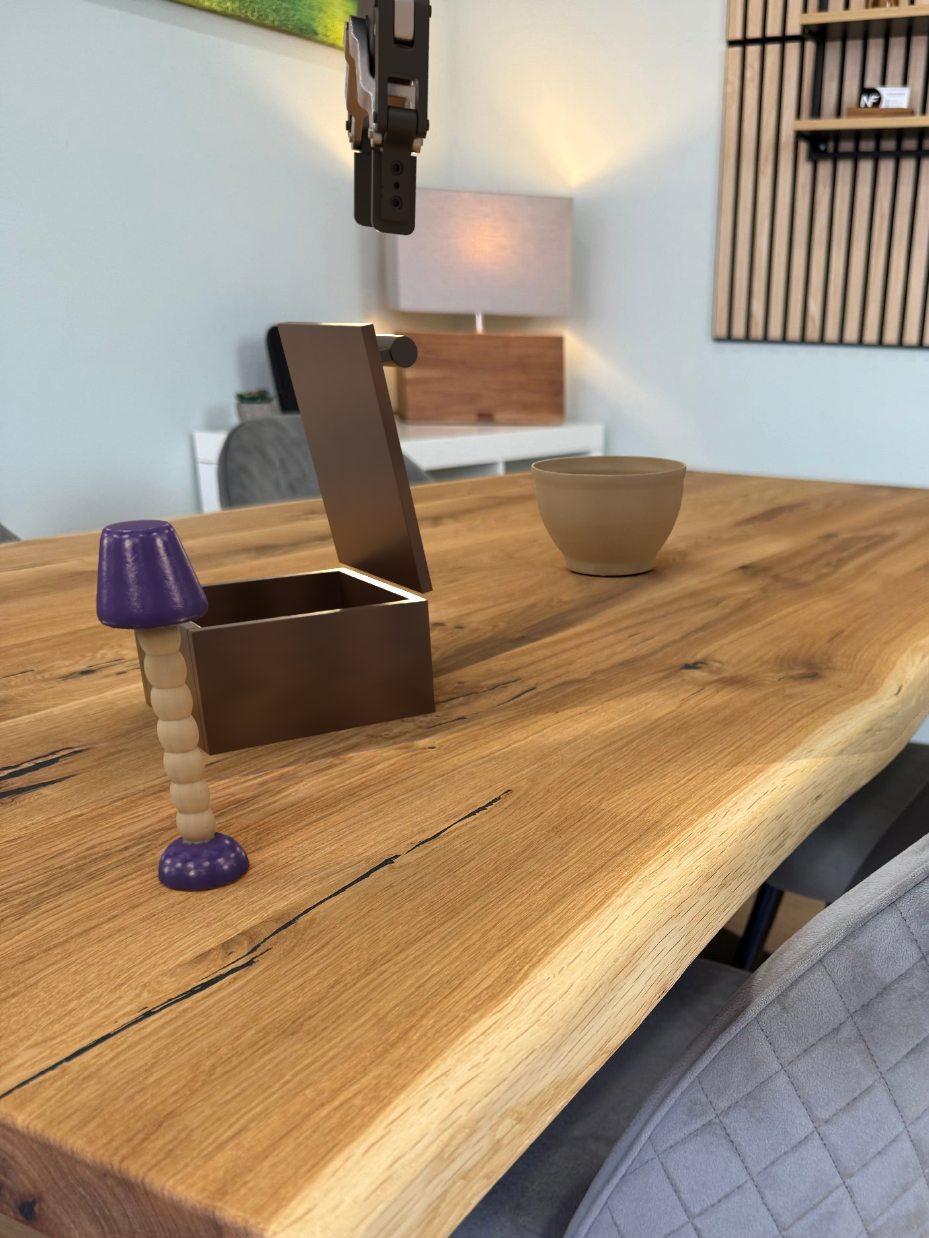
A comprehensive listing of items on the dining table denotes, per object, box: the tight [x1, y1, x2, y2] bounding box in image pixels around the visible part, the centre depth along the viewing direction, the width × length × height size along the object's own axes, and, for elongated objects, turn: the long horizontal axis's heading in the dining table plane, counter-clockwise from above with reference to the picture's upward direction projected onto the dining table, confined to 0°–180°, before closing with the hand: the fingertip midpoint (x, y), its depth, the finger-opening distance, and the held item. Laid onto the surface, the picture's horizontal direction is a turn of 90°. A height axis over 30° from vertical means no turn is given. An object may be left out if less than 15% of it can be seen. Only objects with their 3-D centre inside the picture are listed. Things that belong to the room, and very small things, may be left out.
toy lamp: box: [95, 519, 250, 892], centre depth 55 cm, size 5×5×17 cm
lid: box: [276, 321, 434, 595], centre depth 76 cm, size 15×13×5 cm
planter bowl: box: [531, 454, 687, 577], centre depth 128 cm, size 16×16×11 cm
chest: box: [133, 567, 436, 756], centre depth 77 cm, size 15×13×9 cm
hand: (382, 230), depth 67 cm, fingers open, 8 cm apart
